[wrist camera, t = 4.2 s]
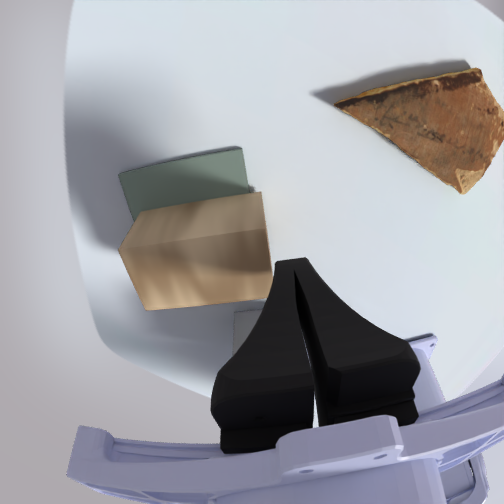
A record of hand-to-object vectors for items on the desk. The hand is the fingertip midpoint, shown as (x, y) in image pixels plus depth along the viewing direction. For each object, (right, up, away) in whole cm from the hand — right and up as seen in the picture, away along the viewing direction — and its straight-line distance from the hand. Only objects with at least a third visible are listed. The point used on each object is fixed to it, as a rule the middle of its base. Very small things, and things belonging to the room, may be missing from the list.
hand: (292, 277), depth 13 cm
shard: (+9, +8, +2) cm, 12 cm away
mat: (-5, +2, +5) cm, 7 cm away
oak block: (-1, +2, +3) cm, 3 cm away
